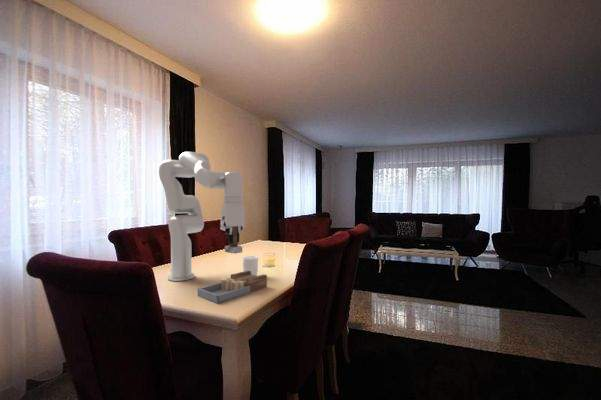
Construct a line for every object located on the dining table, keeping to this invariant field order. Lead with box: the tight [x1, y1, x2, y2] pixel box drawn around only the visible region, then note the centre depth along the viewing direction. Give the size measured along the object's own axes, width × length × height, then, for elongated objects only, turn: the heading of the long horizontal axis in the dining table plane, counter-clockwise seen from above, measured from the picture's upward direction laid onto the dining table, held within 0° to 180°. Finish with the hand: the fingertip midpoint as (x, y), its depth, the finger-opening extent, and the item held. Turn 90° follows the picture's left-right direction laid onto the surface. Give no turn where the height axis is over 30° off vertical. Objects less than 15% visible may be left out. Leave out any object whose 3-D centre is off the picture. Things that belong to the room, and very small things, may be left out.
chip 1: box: [221, 277, 235, 291], centre depth 125 cm, size 4×4×4 cm
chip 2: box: [230, 280, 244, 291], centre depth 122 cm, size 4×4×4 cm
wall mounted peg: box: [224, 227, 243, 255], centre depth 124 cm, size 7×4×12 cm, turn 50°
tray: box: [197, 281, 251, 305], centre depth 119 cm, size 14×16×3 cm
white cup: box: [242, 255, 259, 276], centre depth 145 cm, size 8×8×10 cm
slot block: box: [230, 271, 268, 294], centre depth 129 cm, size 13×10×6 cm
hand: (233, 242), depth 124 cm, fingers closed on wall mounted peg, 2 cm apart
